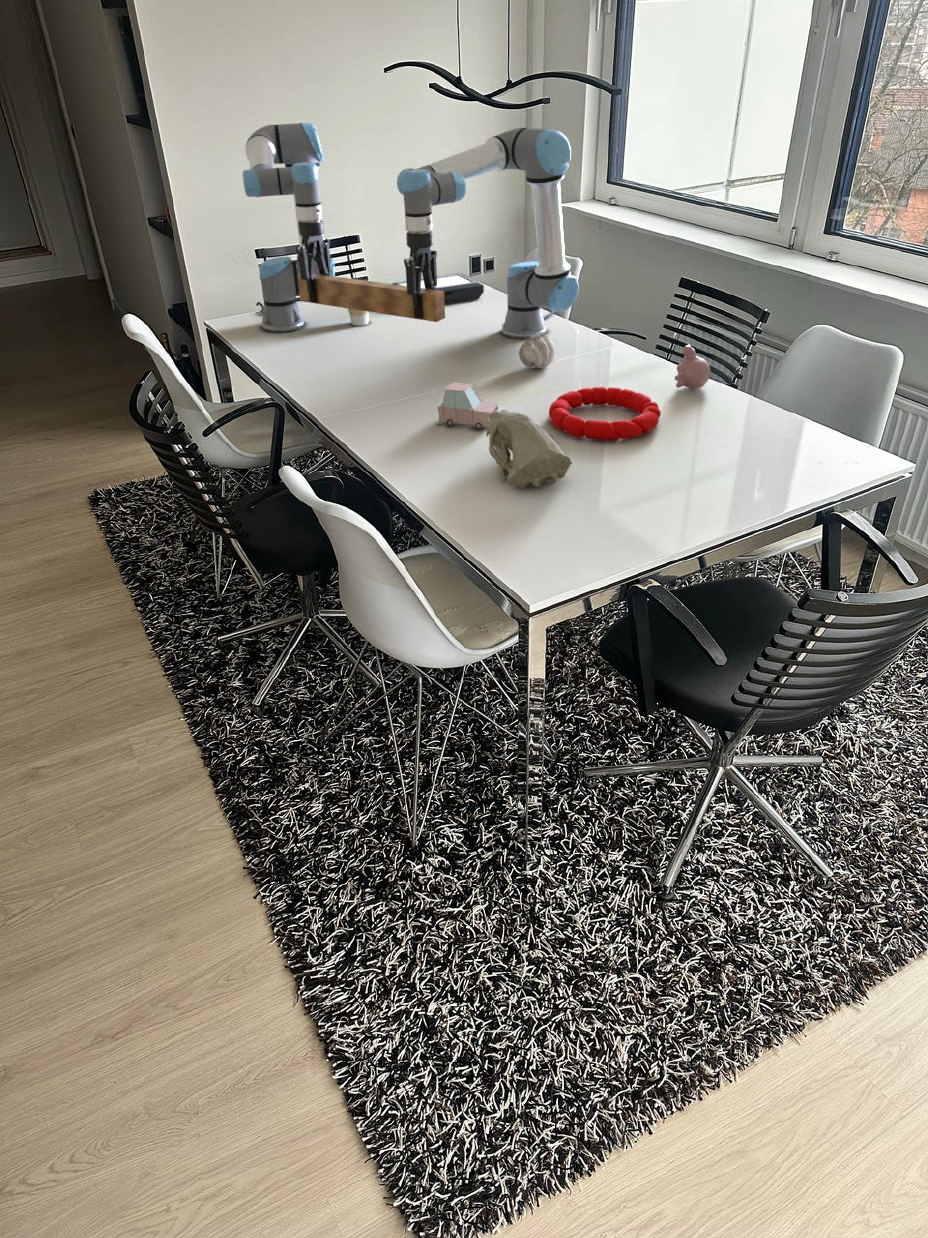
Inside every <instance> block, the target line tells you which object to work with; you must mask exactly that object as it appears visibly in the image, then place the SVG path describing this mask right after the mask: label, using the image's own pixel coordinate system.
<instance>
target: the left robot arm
mask: <svg viewBox="0 0 928 1238" xmlns="http://www.w3.org/2000/svg"><path fill="white" fill-rule="evenodd" d="M245 155H246V158H247V160H248V162H249V163H248V164H249V168H248V169H244V170H243V171H242V181H243V182H242V183H243V187H244V188H243V189H244V193H245V195H246V197H247V198H262V197H263V198H264V197H276V196H293V203H294V210H295V218H296V219H295V220H296V225H297V233H298V234H297V235H298V241H299V246H297V245H296V246H295V250H296V253H297V254H296V260H294V261H293V260H292V258H291V257H290V256H277V257H273V258H270V259H267V260H264V261H263V262H261V263H260V265H259V266H258V270H259V280H260V285H261V286H260V287H261V292H262V299H263V303H262V302H260V301H257V302H256V305H255V306H257V307H259V306H260V308H261V310H260V312H261V314H262V319H261V326H262V330H264V331H265V332H271V333H286V332H293V331H296V330H297V331H298V330H300V329H302V328H304V326H305V319H304V317H303V314H302V312H301V310H300V307H299V306H298V305H299V304H298V303H297V297H300V295H299V287H298V279H297V276H298V275H301V279H302V280H306V282H307V290H308V292H309V299H310V302H315V303H317V302H318V298H317V289H316V281H314V280H313V278H314V274H320V275H328V276H335V277H336V269H335V268H336V267H335V264H336V263H335V259H334V258H332V257H331V252H330V242H331V241H330V238H324V233H325V228H324V221H323V220H322V219H323V212H322V201H321V192H320V190H321V189H320V181H319V180H320V179H319V172H318V171H319V170H320V169H321V166H320V163H322V162H323V161H324V155H323V151H322V145H321V142H320V138H319V134H318V130H317V127H316V125H315V124H313V123H310V122H299V123H279V124H268V125H267V124H266V125H264V126H262V127H260V128H258V129H257V130H256V131H254V132H253V133H252V134H250V136H249V137H248V139H247V141H246V144H245ZM282 164H284V167H275V165H282ZM309 276H310V277H309ZM315 303H314V304H315Z"/></svg>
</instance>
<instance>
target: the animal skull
mask: <svg viewBox="0 0 928 1238" xmlns="http://www.w3.org/2000/svg"><path fill="white" fill-rule="evenodd" d="M485 436H486V438H487V437H489V438H488V440H489V444H488V445H489V446H488V450H489V454H490V456H491V457H492V458H493V459H494V460H495V462H496V464H497V466H499V468H500V470H501V471H502V472H501V478H502V479H507V480H506V484H507V486H517V487H518V486H519V488H523V489H524V488H526V486H527V485H529V483H531V485H533V486H534V487H536V488H540V485H541V484H542V482H544V483H549V484H550V485H553V484H555V483H556V482H557V480H561V479H563V478H565V476H566V474H567V472H568V471H569V469H570V467H571V466H572V464H573V462H572V461H571V458H570V457H568V456H567V455H565V453H564V451H562V449H561V448H560V446H559V444H557V443H556V439H555V438H554V436H553V435H551V434H550V433H548V432H547V431H546V430H545V429H544V428H542V427H541V426H539V425H538V424H537V423H536V424H535V422H534V421H533V419H532V418H531V417H530V416H529V415H527V414H524V413H519V412H515V411H509V410H507V409H502V410H500V411H499V410H497V411H496V412H492V413H491V414H490V422H488V423H487V427H486V435H485ZM511 453H512V454H511ZM511 455H512V457H513V458H512V460H511ZM507 474H508V475H507Z"/></svg>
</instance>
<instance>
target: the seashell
mask: <svg viewBox="0 0 928 1238" xmlns="http://www.w3.org/2000/svg"><path fill="white" fill-rule="evenodd" d="M555 355H556V350H555V345H554V343H553V341H552V339H550V338H549V337H548V336H544V335H542V336H532V337H531V338H524V340H523V342H522V343H521V344H520V347H519V350H518V356H519V357H518V358H519V361H520V362H521V363H522V364H523V365H524V366H525V367H527V368H530V369H533V368H535V367H536V368H539V369H542V368H546V367H548V366H549V365H550V364H551V362H552V360H553V359H554V357H555Z"/></svg>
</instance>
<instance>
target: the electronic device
mask: <svg viewBox="0 0 928 1238" xmlns="http://www.w3.org/2000/svg"><path fill="white" fill-rule="evenodd" d="M433 282H434V281H433ZM391 284H395V285H402V286H407V282H406V281H405V280H404V281H397V282H393V283H391ZM421 288H425V285H424V280H423V278H421ZM484 288H485V285H484V284H482V283H480V282H479V281H477V280H476V279H473V278H471V277H469V276H468V275H465V274H463V273H455V274H448V275H441V276H437V286H436V290H440V291H444V301H445V305H447V304H454V303H461V302H469V301H473V300H479V299H480V298H481V297H482V295H483V294H484V292H485V289H484Z"/></svg>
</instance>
